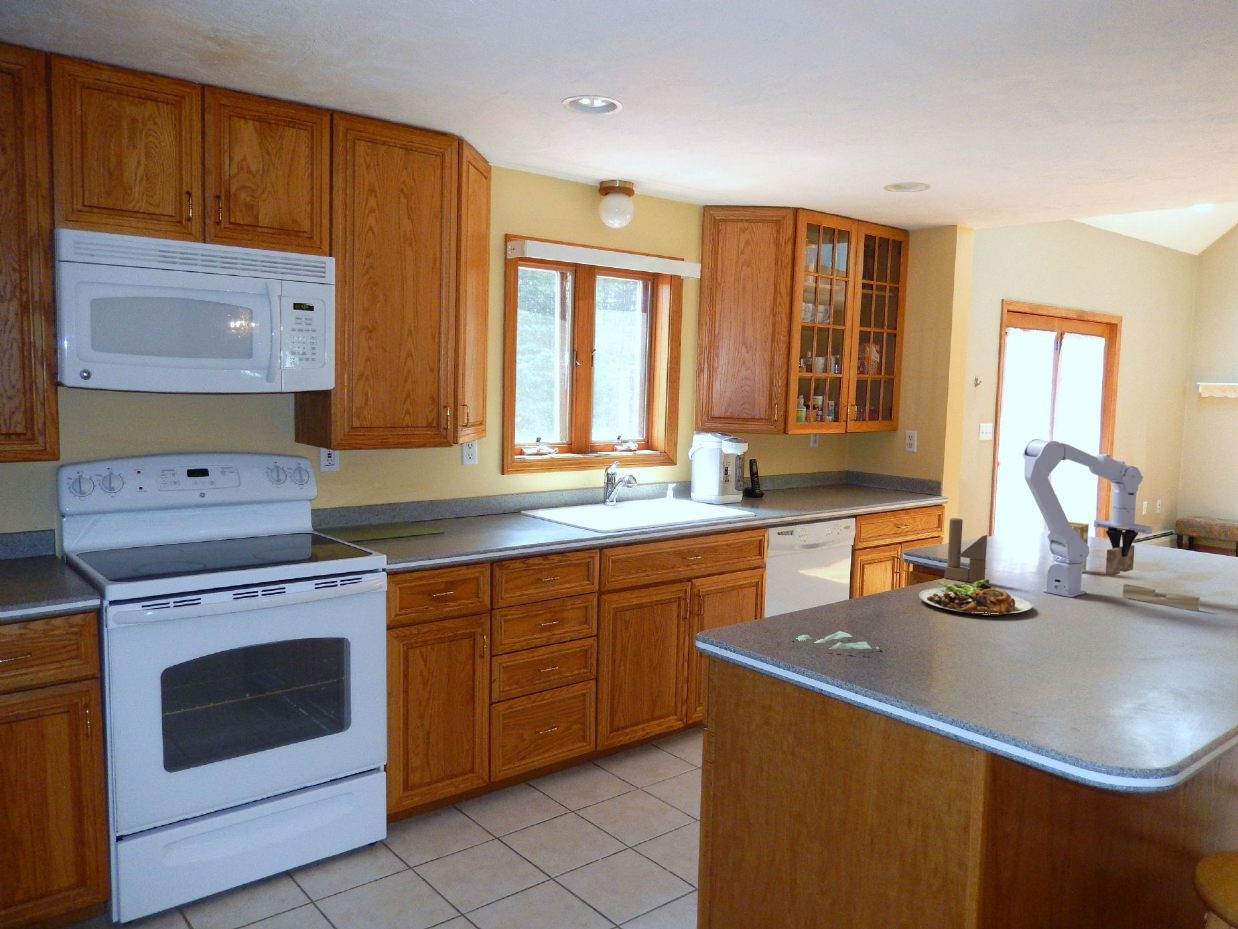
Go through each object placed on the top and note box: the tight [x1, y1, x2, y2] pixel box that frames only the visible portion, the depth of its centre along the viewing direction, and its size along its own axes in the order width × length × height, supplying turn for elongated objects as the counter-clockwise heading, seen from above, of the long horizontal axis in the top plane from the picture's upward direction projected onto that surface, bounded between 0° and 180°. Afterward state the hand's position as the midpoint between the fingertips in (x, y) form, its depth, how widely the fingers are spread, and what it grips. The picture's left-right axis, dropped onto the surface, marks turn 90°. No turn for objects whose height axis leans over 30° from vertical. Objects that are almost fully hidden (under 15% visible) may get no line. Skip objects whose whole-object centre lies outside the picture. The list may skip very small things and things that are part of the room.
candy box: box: [1052, 520, 1090, 574], centre depth 279 cm, size 9×4×15 cm, turn 44°
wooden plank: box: [1105, 544, 1135, 577], centre depth 249 cm, size 14×2×7 cm, turn 129°
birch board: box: [1122, 583, 1201, 612], centre depth 237 cm, size 2×18×4 cm, turn 38°
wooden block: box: [944, 517, 988, 584], centre depth 261 cm, size 4×11×18 cm, turn 47°
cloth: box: [796, 630, 881, 649], centre depth 194 cm, size 20×22×2 cm
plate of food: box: [918, 578, 1034, 616], centre depth 232 cm, size 28×28×6 cm
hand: (1120, 555), depth 249 cm, fingers closed on wooden plank, 2 cm apart
